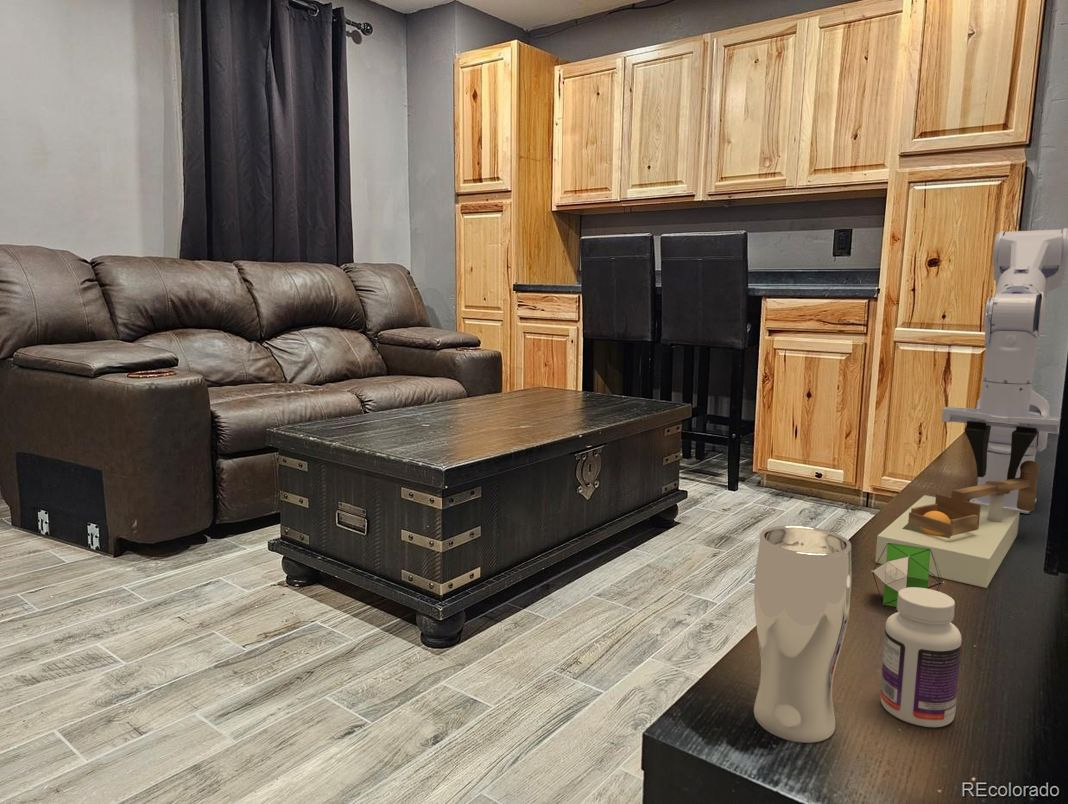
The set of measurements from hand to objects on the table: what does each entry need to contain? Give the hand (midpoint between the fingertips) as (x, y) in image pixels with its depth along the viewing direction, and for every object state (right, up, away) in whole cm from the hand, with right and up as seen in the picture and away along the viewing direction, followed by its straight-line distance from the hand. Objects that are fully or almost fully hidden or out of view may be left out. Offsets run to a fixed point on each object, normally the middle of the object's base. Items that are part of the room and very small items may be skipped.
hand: (996, 478), depth 100 cm
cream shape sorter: (-9, -9, -5) cm, 14 cm away
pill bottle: (-34, -15, -42) cm, 56 cm away
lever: (-6, -5, -6) cm, 9 cm away
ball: (-14, -5, -9) cm, 17 cm away
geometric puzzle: (-24, -12, -22) cm, 35 cm away
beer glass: (-44, -15, -43) cm, 64 cm away
